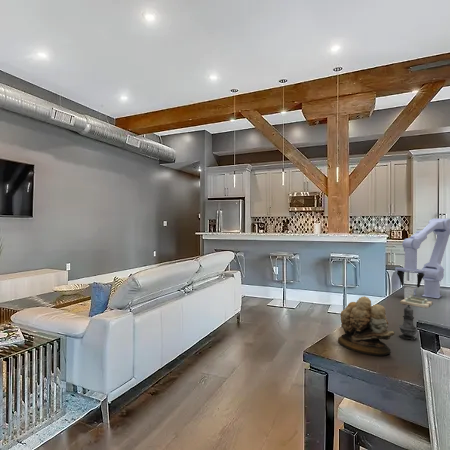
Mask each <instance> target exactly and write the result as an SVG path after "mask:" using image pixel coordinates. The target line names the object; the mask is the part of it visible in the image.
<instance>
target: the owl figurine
mask: <svg viewBox="0 0 450 450" xmlns="http://www.w3.org/2000/svg"><path fill="white" fill-rule="evenodd" d="M340 321H341V322H340V323H341V324H340V325H341V328H342V329H343V332H344V333H343V334H342V335H341V336H339V337H338V338H337V342H338V344H339V346H341V347H343V348H346V349H348V350H350V351H352V352H355V353H359V354H363V355H367V356H372V357H373V356H375V357H382V356H387V355H389V354H390V353H391V349H390V346H388V344H386V343H385V342H383V341H382V340H385V341H387V340H390V339H391V337H392V336H394V335H395V332H394V330H388V328H389V322H388V319H387V316H386V308H385V307H384V306H383V305H381V304H377V303H376V304H373V305H372V300H371V299H370V298H369V297H367V296H361V297H359V298H358V299H357V300H356V301H351V302H349V303H348V304H347V306H345V308H344V309H343V310H341V312H340Z"/></svg>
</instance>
